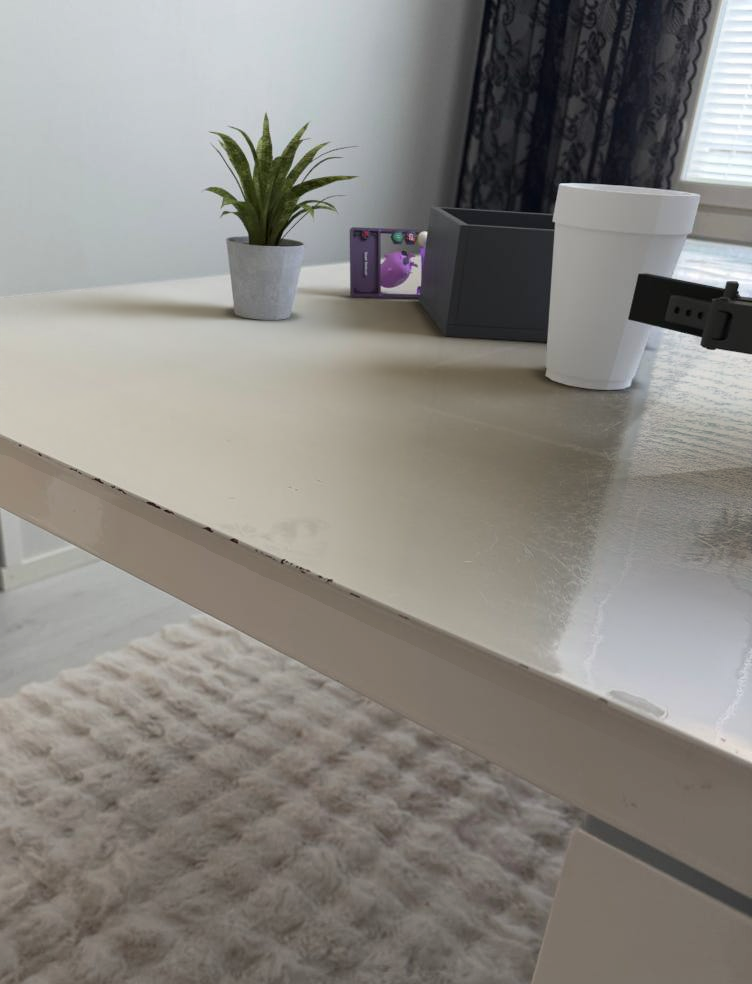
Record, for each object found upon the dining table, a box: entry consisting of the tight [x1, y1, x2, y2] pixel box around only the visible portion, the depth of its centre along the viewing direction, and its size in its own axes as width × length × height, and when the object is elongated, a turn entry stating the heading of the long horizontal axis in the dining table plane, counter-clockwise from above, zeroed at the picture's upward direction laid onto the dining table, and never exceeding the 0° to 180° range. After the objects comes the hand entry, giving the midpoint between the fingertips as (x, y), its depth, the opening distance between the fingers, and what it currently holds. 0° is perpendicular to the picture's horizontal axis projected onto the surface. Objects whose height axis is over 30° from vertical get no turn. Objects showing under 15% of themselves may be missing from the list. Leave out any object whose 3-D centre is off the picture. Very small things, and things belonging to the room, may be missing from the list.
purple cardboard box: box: [349, 226, 428, 299], centre depth 101 cm, size 7×5×9 cm
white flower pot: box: [544, 182, 702, 391], centre depth 69 cm, size 10×9×13 cm
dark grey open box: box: [418, 206, 555, 343], centre depth 89 cm, size 18×18×9 cm
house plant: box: [201, 111, 359, 321], centre depth 82 cm, size 14×14×16 cm
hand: (706, 292), depth 62 cm, fingers open, 13 cm apart
